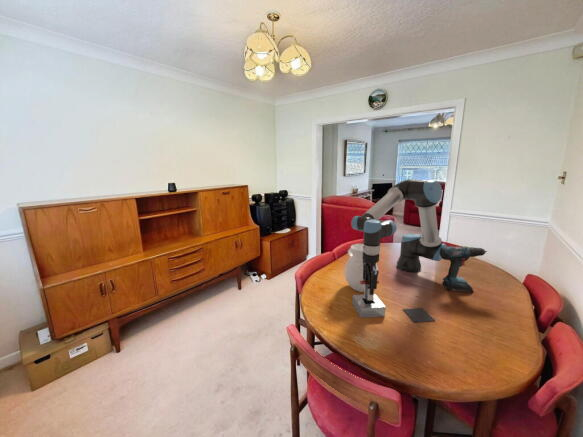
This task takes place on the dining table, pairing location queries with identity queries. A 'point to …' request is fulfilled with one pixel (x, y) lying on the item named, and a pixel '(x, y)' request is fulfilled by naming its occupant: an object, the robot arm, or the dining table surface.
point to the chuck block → (368, 307)
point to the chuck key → (367, 290)
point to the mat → (418, 315)
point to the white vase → (355, 267)
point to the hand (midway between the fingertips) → (368, 297)
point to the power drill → (457, 260)
